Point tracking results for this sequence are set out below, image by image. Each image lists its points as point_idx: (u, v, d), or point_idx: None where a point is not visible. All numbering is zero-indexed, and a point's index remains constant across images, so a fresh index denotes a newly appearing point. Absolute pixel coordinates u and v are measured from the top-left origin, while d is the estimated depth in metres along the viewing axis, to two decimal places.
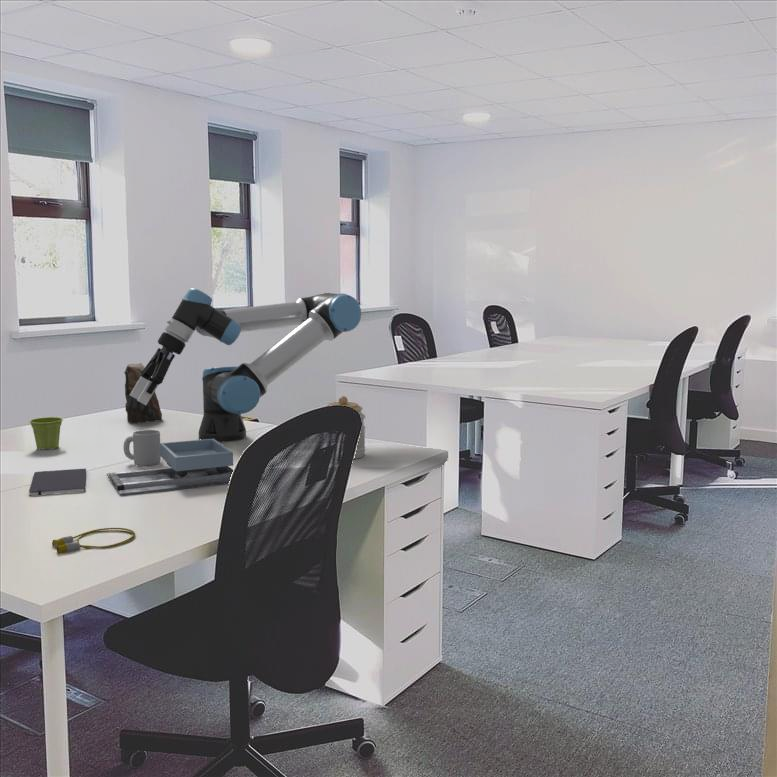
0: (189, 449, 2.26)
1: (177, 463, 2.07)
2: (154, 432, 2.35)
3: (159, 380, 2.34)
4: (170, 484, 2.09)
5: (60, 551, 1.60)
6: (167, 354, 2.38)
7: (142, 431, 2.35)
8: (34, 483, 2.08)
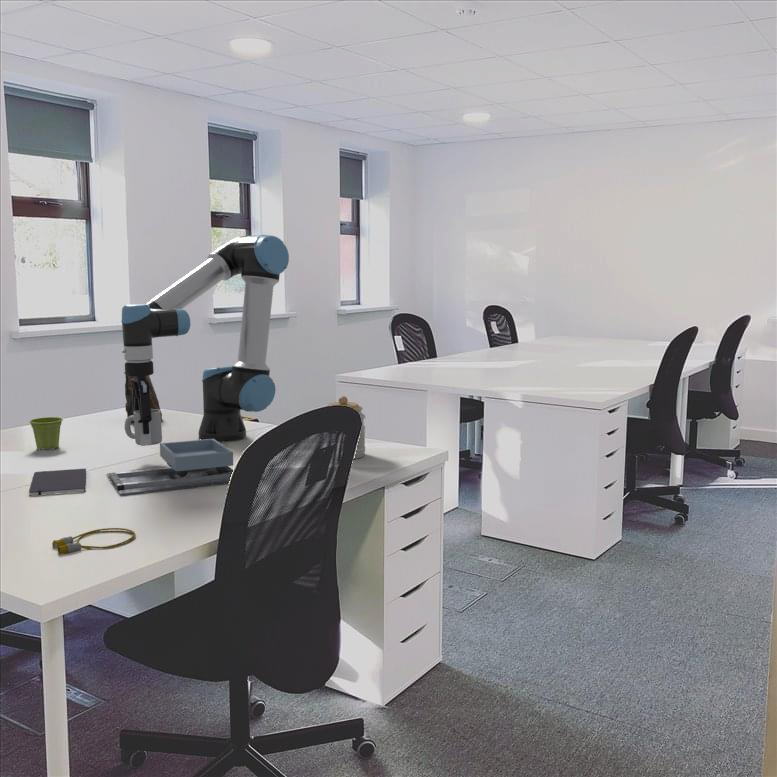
0: (189, 449, 2.26)
1: (177, 463, 2.07)
2: (155, 411, 2.35)
3: (148, 419, 2.26)
4: (170, 484, 2.09)
5: (61, 552, 1.59)
6: (141, 389, 2.24)
7: None
8: (34, 483, 2.07)
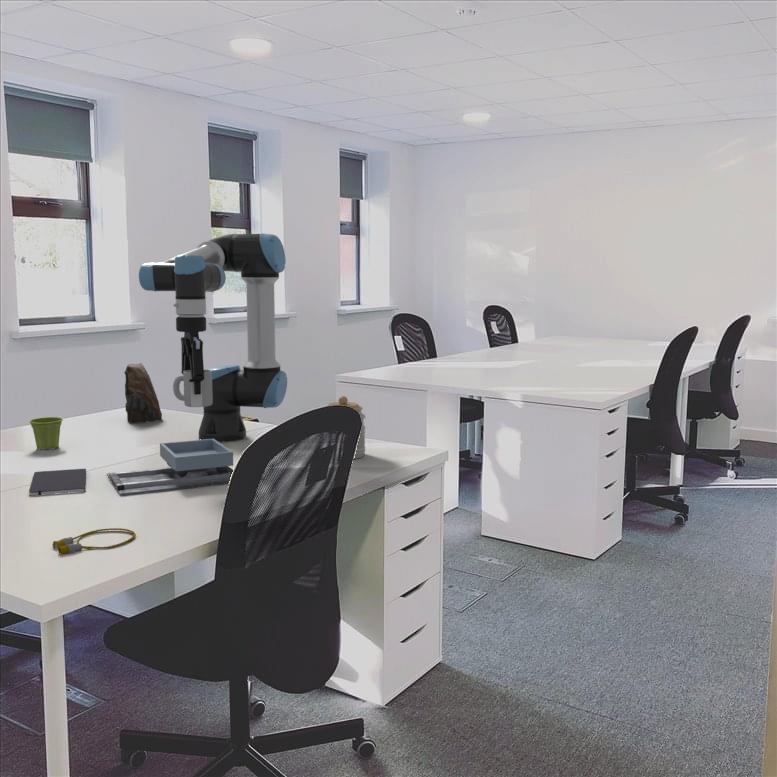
0: (189, 449, 2.26)
1: (177, 463, 2.07)
2: (205, 372, 2.19)
3: (200, 378, 2.09)
4: (170, 484, 2.09)
5: (62, 552, 1.59)
6: (194, 345, 2.08)
7: None
8: (34, 483, 2.07)
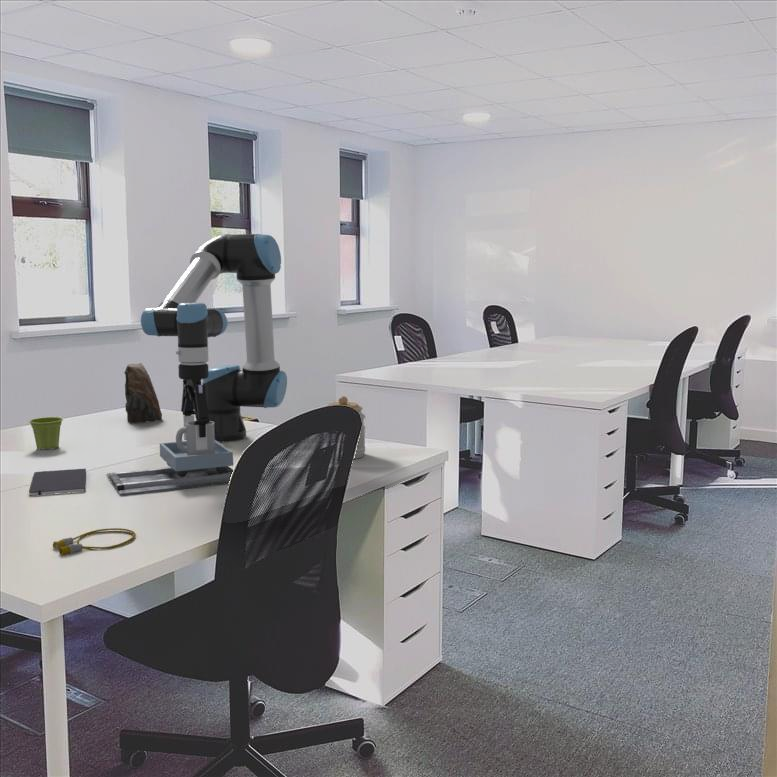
0: None
1: (177, 463, 2.07)
2: (208, 423, 2.21)
3: (205, 420, 2.08)
4: (170, 484, 2.09)
5: (63, 553, 1.59)
6: (197, 389, 2.09)
7: None
8: (34, 483, 2.07)
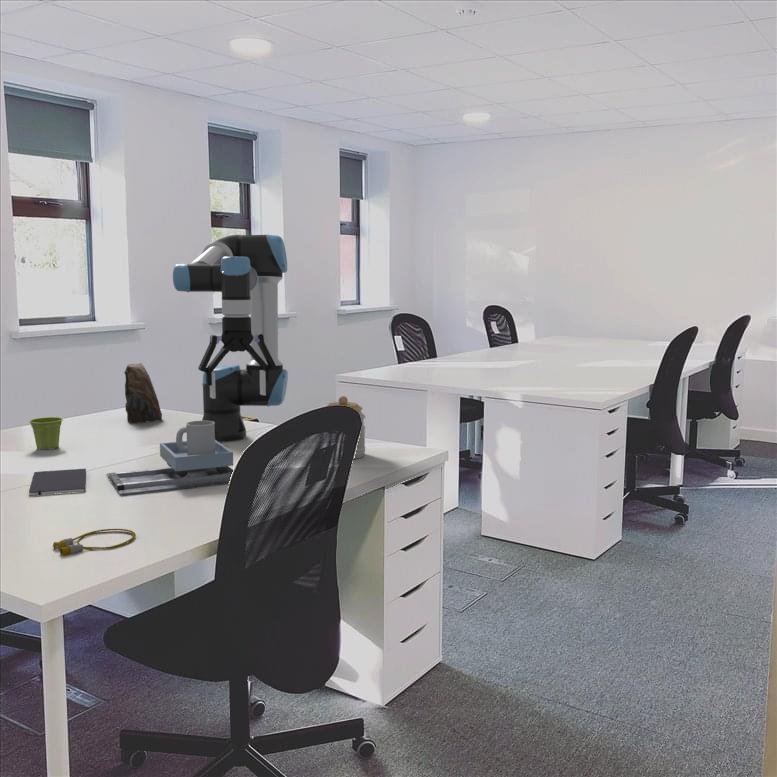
0: None
1: (177, 463, 2.07)
2: (208, 423, 2.21)
3: (199, 368, 2.16)
4: (170, 484, 2.09)
5: (64, 553, 1.59)
6: (210, 338, 2.17)
7: (195, 422, 2.21)
8: (34, 483, 2.07)
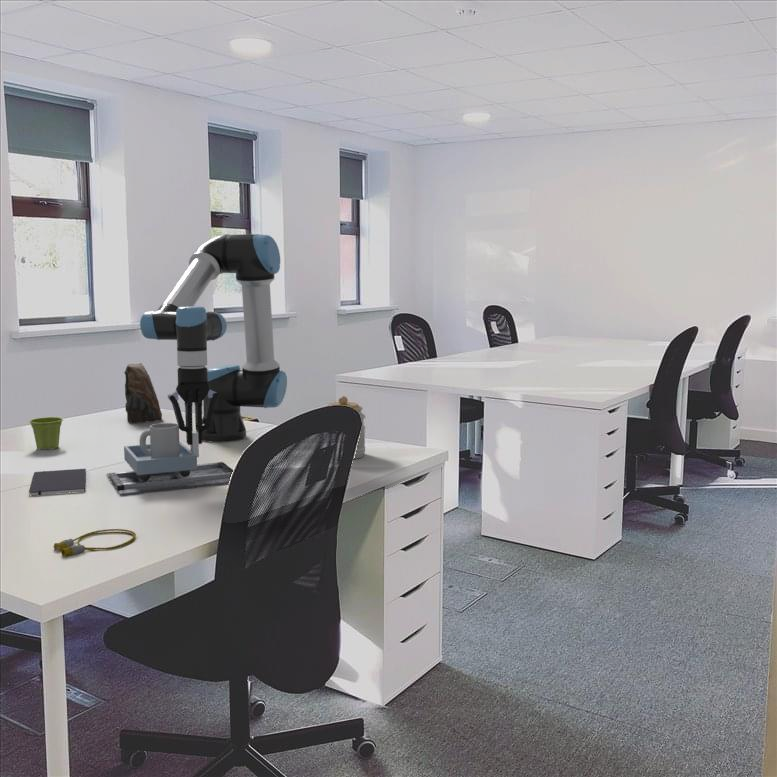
0: None
1: (139, 467, 2.03)
2: (172, 425, 2.17)
3: (180, 429, 2.15)
4: (170, 484, 2.09)
5: (66, 554, 1.58)
6: (169, 399, 2.14)
7: (159, 425, 2.16)
8: (34, 483, 2.07)
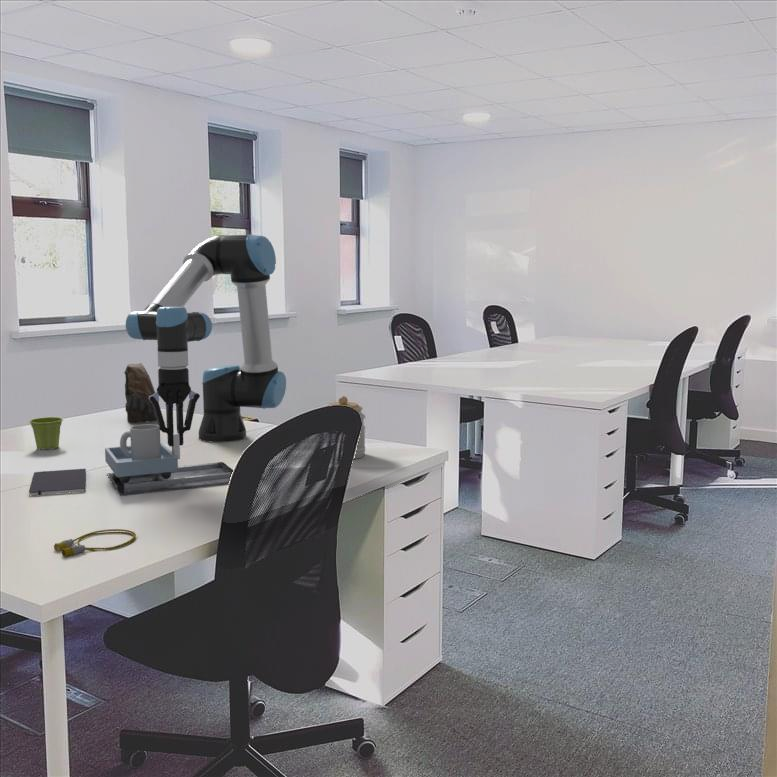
0: None
1: (118, 469, 2.01)
2: (153, 427, 2.15)
3: (161, 430, 2.13)
4: (170, 484, 2.09)
5: (66, 554, 1.58)
6: None
7: (140, 426, 2.14)
8: (34, 483, 2.07)
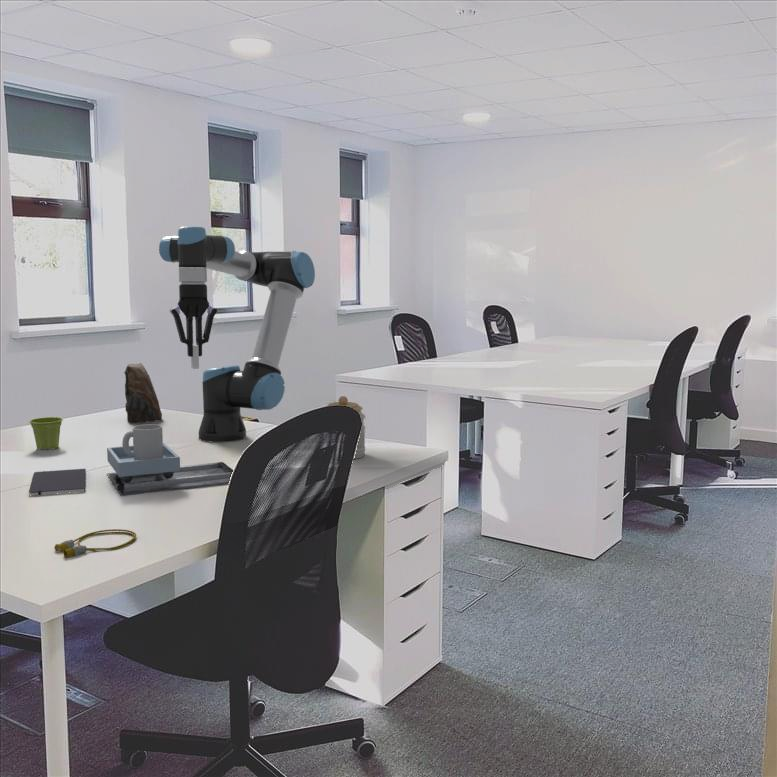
0: None
1: (121, 468, 2.01)
2: (156, 427, 2.15)
3: (182, 341, 2.32)
4: (170, 484, 2.09)
5: (68, 555, 1.58)
6: (171, 313, 2.30)
7: (142, 426, 2.15)
8: (34, 483, 2.07)
